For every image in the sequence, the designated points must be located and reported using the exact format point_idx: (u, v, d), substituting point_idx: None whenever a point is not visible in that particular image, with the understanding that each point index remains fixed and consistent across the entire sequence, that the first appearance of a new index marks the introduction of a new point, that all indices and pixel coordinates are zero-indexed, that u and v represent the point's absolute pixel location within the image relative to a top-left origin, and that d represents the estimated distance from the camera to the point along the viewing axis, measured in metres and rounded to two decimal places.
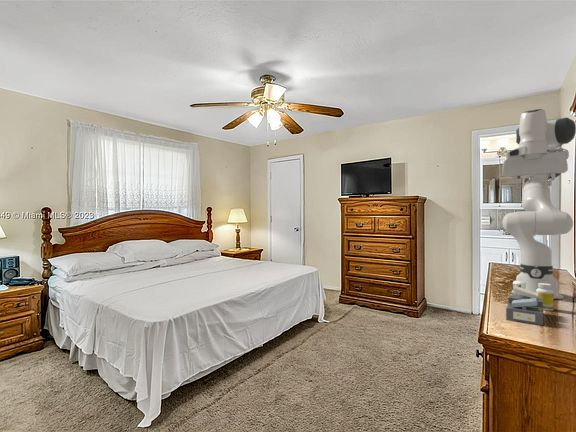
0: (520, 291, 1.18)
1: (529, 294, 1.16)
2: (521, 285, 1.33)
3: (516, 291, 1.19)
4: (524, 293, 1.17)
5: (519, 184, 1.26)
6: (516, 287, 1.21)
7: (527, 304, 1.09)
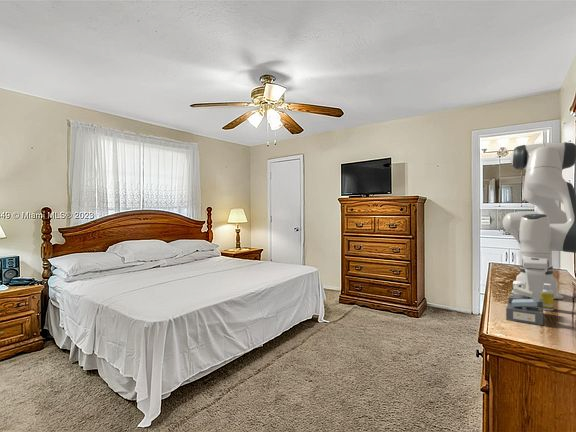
0: (520, 291, 1.18)
1: (529, 294, 1.16)
2: (521, 285, 1.33)
3: (516, 291, 1.19)
4: (524, 293, 1.17)
5: None
6: (516, 287, 1.21)
7: (527, 304, 1.09)
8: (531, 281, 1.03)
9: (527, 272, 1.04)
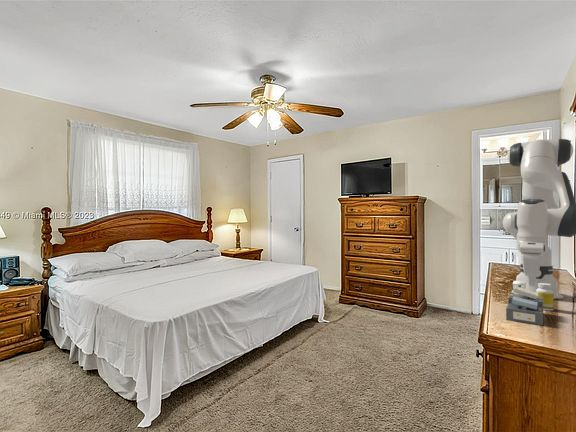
0: (520, 291, 1.18)
1: (529, 294, 1.16)
2: (521, 285, 1.33)
3: (516, 291, 1.19)
4: (524, 293, 1.17)
5: None
6: (516, 287, 1.21)
7: (527, 305, 1.10)
8: (526, 265, 1.04)
9: (523, 256, 1.05)
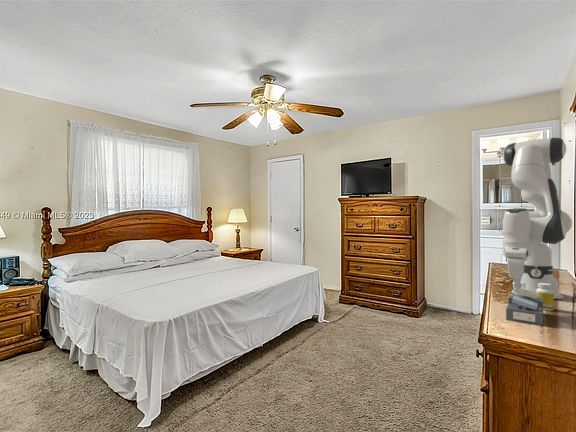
0: (520, 291, 1.18)
1: (529, 294, 1.16)
2: (521, 285, 1.33)
3: (516, 291, 1.19)
4: (524, 293, 1.17)
5: (519, 285, 1.20)
6: None
7: (527, 306, 1.10)
8: (511, 268, 1.14)
9: (508, 260, 1.15)
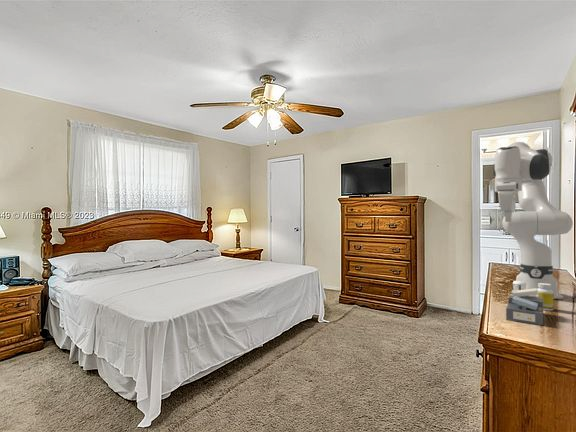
0: (520, 293, 1.18)
1: (529, 292, 1.17)
2: (521, 285, 1.33)
3: (516, 295, 1.19)
4: (524, 293, 1.17)
5: (510, 219, 1.26)
6: (515, 291, 1.21)
7: (527, 306, 1.10)
8: (502, 200, 1.20)
9: (499, 193, 1.21)
